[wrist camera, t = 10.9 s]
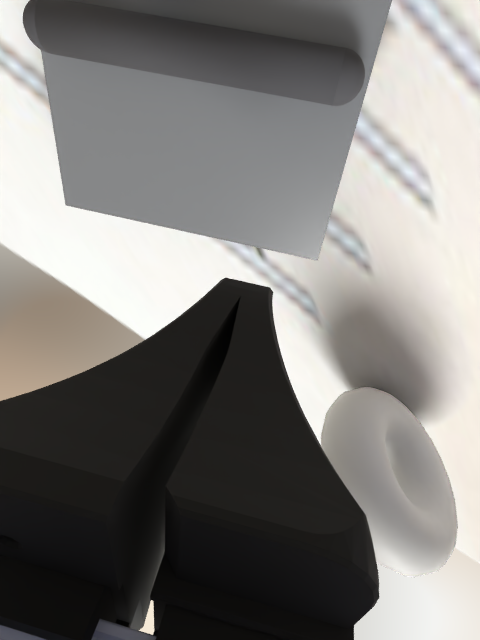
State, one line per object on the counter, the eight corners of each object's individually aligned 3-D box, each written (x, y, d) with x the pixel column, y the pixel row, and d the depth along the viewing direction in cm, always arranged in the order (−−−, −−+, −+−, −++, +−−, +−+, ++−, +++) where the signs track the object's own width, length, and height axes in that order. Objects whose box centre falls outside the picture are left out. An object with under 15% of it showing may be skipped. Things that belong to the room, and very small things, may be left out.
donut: (313, 370, 26) (298, 523, 18) (358, 346, 24) (362, 506, 16) (404, 452, 29) (425, 614, 21) (451, 437, 27) (492, 609, 19)
